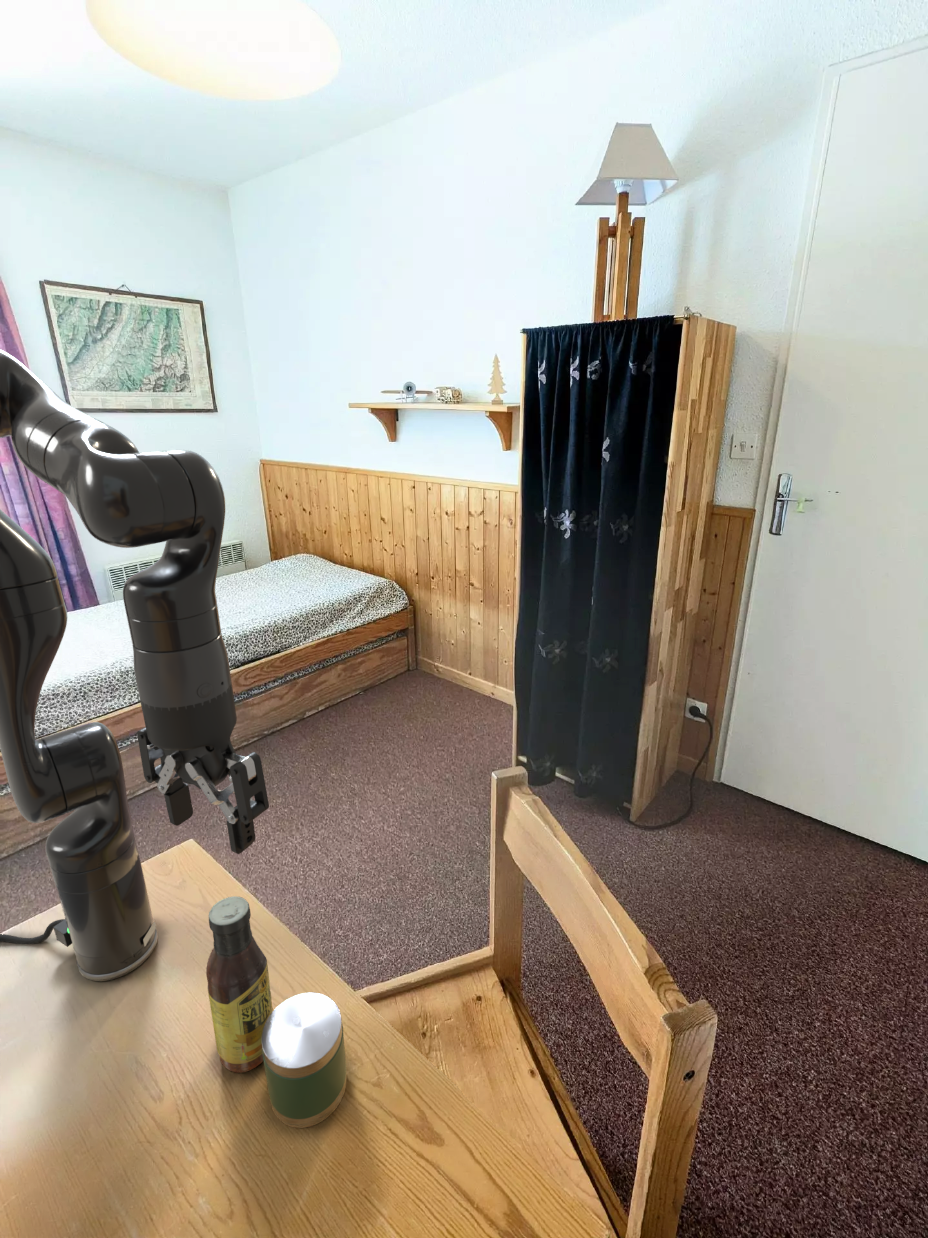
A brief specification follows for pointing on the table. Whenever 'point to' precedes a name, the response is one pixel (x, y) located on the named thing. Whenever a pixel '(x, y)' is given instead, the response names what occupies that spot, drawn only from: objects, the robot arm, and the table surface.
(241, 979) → the sauce bottle
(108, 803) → the robot arm
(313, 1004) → the tin can
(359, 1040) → the table surface
